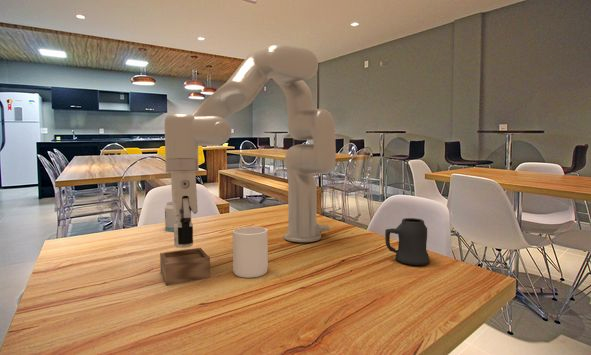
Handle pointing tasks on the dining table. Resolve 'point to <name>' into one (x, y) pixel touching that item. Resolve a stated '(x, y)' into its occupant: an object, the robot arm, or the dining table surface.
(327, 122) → the robot arm
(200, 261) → the walnut box
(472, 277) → the dining table surface
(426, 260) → the mug
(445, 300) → the dining table surface
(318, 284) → the dining table surface
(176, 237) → the pill bottle
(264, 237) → the mug
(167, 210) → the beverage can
